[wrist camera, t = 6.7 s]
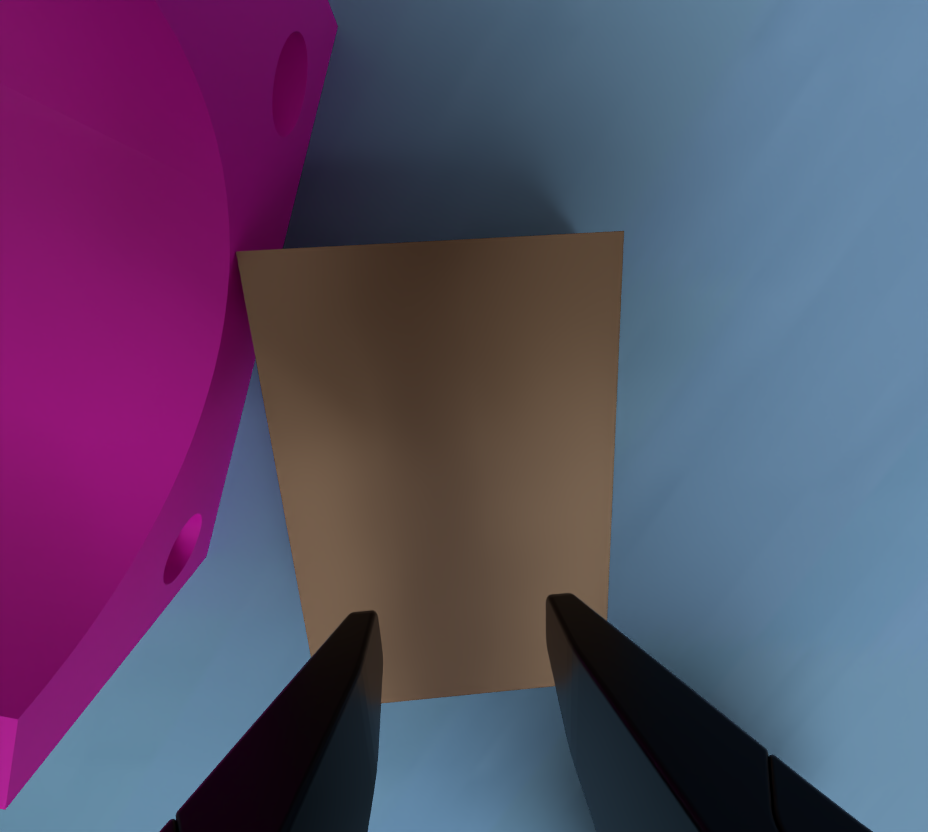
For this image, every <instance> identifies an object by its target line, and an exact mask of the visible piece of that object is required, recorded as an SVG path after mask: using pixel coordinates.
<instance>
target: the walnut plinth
mask: <svg viewBox="0 0 928 832" xmlns="http://www.w3.org/2000/svg"><path fill="white" fill-rule="evenodd" d="M623 242H624V231H614V232H595V233H576V234H557V235H538V236H519V237H500V238H481V239H462V240H443V241H424V242H406V243H387V244H368V245H349V246H330V247H311V248H292V249H273V250H254V251H236V255H237V260H238V266H239V271H240V276H241V282H242V287H243V293H244V298H245V303H246V309H247V314H248V320H249V325H250V330H251V336H252V341H253V347H254V352H255V357H256V363H257V368H258V374H259V379H260V384H261V390H262V395H263V401H264V406H265V411H266V417H267V422H268V428H269V433H270V438H271V444H272V449H273V454H274V460H275V465H276V471H277V476H278V481H279V487H280V492H281V498H282V503H283V508H284V514H285V519H286V525H287V530H288V535H289V541H290V546H291V552H292V557H293V562H294V568H295V573H296V579H297V584H298V589H299V595H300V600H301V606H302V611H303V616H304V622H305V627H306V632H307V638H308V643H309V649H310V654H311V657H312V656H313V655H314V654H315V653H316V651H317V650H318V649H319V648H320V647H321V646H322V644H323V643H324V642H325V641H326V640H327V639H328V638H329V636H330V635H331V634H332V633H333V632H334V631H335V629H336V628H337V627H338V626H339V625H340V624H341V623H342V621H343V620H344V619H345V618H346V617H347V616H348V615H349V614H350V613H352V612H357V611H368V610H374V611H376V613H377V615H378V619H379V627H380V635H381V643H382V651H383V677H382V695H381V703H389V702H399V701H409V700H419V699H429V698H439V697H449V696H460V695H470V694H480V693H490V692H500V691H510V690H520V689H530V688H540V687H550V686H555V682H554V678H553V673H552V669H551V664H550V660H549V655H548V650H547V644H546V599H547V597H548V595H550V594H560V593H572V594H574V595H575V596H577V597H578V598H579V599H580V600H582V601H583V602H584V603H585V604H587V605H588V606H589V607H590V608H591V609H593V610H594V611H595V612H596V613H598V614H599V615H600V616H601V617H603V618H604V619H605V620H606V621H607V608H608V585H609V562H610V540H611V517H612V494H613V471H614V448H615V425H616V402H617V379H618V356H619V333H620V311H621V288H622V265H623Z"/></svg>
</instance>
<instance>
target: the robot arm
mask: <svg viewBox="0 0 928 832" xmlns="http://www.w3.org/2000/svg"><path fill="white" fill-rule="evenodd" d="M546 644H547V650H548V655H549V660H550V664H551V669H552V673H553V678H554V682H555V687H556V691H557V696H558V700H559V705H560V709H561V714H562V718H563V723H564V727H565V732H566V736H567V740H568V744H569V748H570V752H571V755H572V758H573V762H574V765H575V768H576V771H577V774H578V777H579V780H580V783H581V786H582V789H583V792H584V795H585V798H586V801H587V804H588V807H589V810H590V813H591V816H592V819H593V822H594V825H595V828H596V831H597V832H873V831H871V830H870V829H868V828H867V827H866V826H864V825H863V824H862V823H860V822H859V821H858V820H856V819H855V818H854V817H852V816H851V815H850V814H849V813H847V812H846V811H845V810H843V809H842V808H841V807H839V806H838V805H837V804H836V803H834V802H833V801H832V800H830V799H829V798H828V797H827V796H825V795H824V794H823V793H821V792H820V791H819V790H818V789H816V788H815V787H814V786H812V785H811V784H810V783H808V782H807V781H806V780H805V779H803V778H802V777H801V776H800V775H798V774H797V773H796V772H795V771H793V770H792V769H791V768H790V767H788V766H787V765H786V764H785V763H783V762H782V761H781V760H780V759H778V758H777V757H776V756H775V755H770V756H769V757H768V751H767V749H766V748H764V747H763V746H762V745H761V744H759V743H758V742H757V741H756V740H754V739H753V738H752V737H751V736H749V735H748V734H747V733H746V732H745V731H743V730H742V729H741V728H740V727H738V726H737V725H736V724H735V723H733V722H732V721H731V720H730V719H728V718H727V717H726V716H725V715H723V714H722V713H721V712H720V711H718V710H717V709H716V708H715V707H713V706H712V705H711V704H710V703H708V702H707V701H706V700H705V699H703V698H702V697H701V696H700V695H698V694H697V693H696V692H695V691H694V690H692V689H691V688H690V687H689V686H687V685H686V684H685V683H684V682H682V681H681V680H680V679H679V678H677V677H676V676H675V675H674V674H672V673H671V672H670V671H669V670H667V669H666V668H665V667H664V666H662V665H661V664H660V663H659V662H657V661H656V660H655V659H654V658H652V657H651V656H650V655H649V654H647V653H646V652H645V651H644V650H642V649H641V648H640V647H639V646H638V645H636V644H635V643H634V642H633V641H631V640H630V639H629V638H628V637H626V636H625V635H624V634H623V633H621V632H620V631H619V630H618V629H616V628H615V627H614V626H613V625H611V624H610V623H609V622H608V621H606V620H605V619H604V618H603V617H601V616H600V615H599V614H598V613H596V612H595V611H594V610H593V609H591V608H590V607H589V606H588V605H587V604H585V603H584V602H583V601H582V600H580V599H579V598H578V597H577V596H575V595H574V594H572V593H560V594H550V595H548V597H547V599H546ZM382 677H383V651H382V643H381V635H380V627H379V619H378V615H377V613H376V611H374V610H368V611H357V612H352V613H350V614H349V615H348V616H347V617H346V618H345V619H344V620H343V621H342V623H341V624H340V625H339V626H338V627H337V628H336V629H335V631H334V632H333V633H332V634H331V635H330V636H329V638H328V639H327V640H326V641H325V642H324V643H323V644H322V646H321V647H320V648H319V649H318V650H317V651H316V653H315V654H314V655H313V656H312V657H311V658H310V659H309V661H308V662H307V663H306V664H305V665H304V666H303V667H302V669H301V670H300V671H299V672H298V673H297V674H296V676H295V677H294V678H293V679H292V680H291V681H290V682H289V684H288V685H287V686H286V687H285V688H284V689H283V691H282V692H281V693H280V694H279V695H278V696H277V697H276V699H275V700H274V701H273V702H272V703H271V704H270V705H269V707H268V708H267V709H266V710H265V711H264V712H263V714H262V715H261V716H260V717H259V718H258V719H257V720H256V722H255V723H254V724H253V725H252V726H251V727H250V729H249V730H248V731H247V732H246V733H245V734H244V735H243V737H242V738H241V739H240V740H239V741H238V742H237V743H236V745H235V746H234V747H233V748H232V749H231V750H230V752H229V753H228V754H227V755H226V756H225V757H224V758H223V760H222V761H221V762H220V763H219V764H218V765H217V766H216V768H215V769H214V770H213V771H212V772H211V773H210V775H209V776H208V777H207V778H206V779H205V780H204V781H203V783H202V784H201V785H200V786H199V787H198V788H197V790H196V791H195V792H194V793H193V794H192V795H191V796H190V798H189V799H188V800H187V801H186V802H185V803H184V804H183V806H182V807H181V808H180V809H179V810H178V811H177V813H176V820H175V819H171V820H169V821H168V823H167V824H166V825H165V826H164V827H163V828H162V829H161V831H160V832H368V825H369V819H370V813H371V807H372V801H373V795H374V788H375V780H376V773H377V762H378V748H379V731H380V713H381V695H382Z"/></svg>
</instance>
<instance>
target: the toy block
mask: <svg viewBox="0 0 928 832" xmlns="http://www.w3.org/2000/svg"><path fill="white" fill-rule="evenodd" d="M337 28H338V26H337V23H336V20H335V18H334V15H333V12H332V10H331V7H330V5H329V2H328V0H0V809H6V808H7V807H8V805H9V804H10V803H11V802H12V800H13V799H14V798H15V797H16V795H17V794H18V793H19V792H20V790H21V789H22V788H23V787H24V785H25V784H26V783H27V782H28V780H29V779H30V778H31V777H32V775H33V774H34V773H35V772H36V770H37V769H38V768H39V766H40V765H41V764H42V763H43V761H44V760H45V759H46V758H47V756H48V755H49V754H50V753H51V751H52V750H53V749H54V748H55V746H56V745H57V744H58V743H59V741H60V740H61V739H62V738H63V736H64V735H65V734H66V733H67V731H68V730H69V729H70V727H71V726H72V725H73V724H74V722H75V721H76V720H77V719H78V717H79V716H80V715H81V714H82V712H83V711H84V710H85V709H86V707H87V706H88V705H89V704H90V702H91V701H92V700H93V699H94V697H95V696H96V695H97V694H98V692H99V691H100V690H101V688H102V687H103V686H104V685H105V683H106V682H107V681H108V680H109V678H110V677H111V676H112V675H113V673H114V672H115V671H116V670H117V668H118V667H119V666H120V665H121V663H122V662H123V661H124V660H125V658H126V657H127V656H128V655H129V653H130V652H131V651H132V649H133V648H134V647H135V646H136V644H137V643H138V642H139V641H140V639H141V638H142V637H143V636H144V634H145V633H146V632H147V631H148V629H149V628H150V627H151V626H152V624H153V623H154V622H155V621H156V619H157V618H158V617H159V616H160V614H161V613H162V612H163V610H164V609H165V608H166V607H167V605H168V604H169V603H170V602H171V600H172V599H173V598H174V597H175V595H176V594H177V593H178V592H179V590H180V589H181V588H182V587H183V585H184V584H185V583H186V582H187V580H188V579H189V578H190V577H191V575H192V574H193V573H194V571H195V570H196V569H197V568H198V566H199V565H200V564H201V563H202V561H203V560H204V559H205V558H206V556H207V552H208V548H209V544H210V540H211V536H212V532H213V527H214V523H215V519H216V515H217V511H218V507H219V503H220V499H221V495H222V491H223V487H224V483H225V479H226V475H227V471H228V467H229V463H230V459H231V455H232V451H233V447H234V443H235V439H236V435H237V431H238V427H239V423H240V419H241V415H242V411H243V407H244V403H245V399H246V395H247V391H248V386H249V382H250V378H251V374H252V370H253V366H254V362H255V358H256V357H255V352H254V347H253V341H252V336H251V330H250V325H249V320H248V314H247V309H246V303H245V298H244V293H243V287H242V282H241V276H240V271H239V266H238V260H237V255H236V251H254V250H273V249H283V245H284V241H285V237H286V233H287V229H288V225H289V221H290V217H291V213H292V209H293V205H294V201H295V197H296V193H297V189H298V185H299V181H300V177H301V173H302V169H303V165H304V161H305V157H306V153H307V149H308V145H309V141H310V137H311V133H312V129H313V125H314V121H315V117H316V112H317V108H318V104H319V100H320V96H321V92H322V88H323V84H324V80H325V76H326V72H327V68H328V64H329V60H330V56H331V52H332V48H333V44H334V40H335V36H336V32H337Z"/></svg>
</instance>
